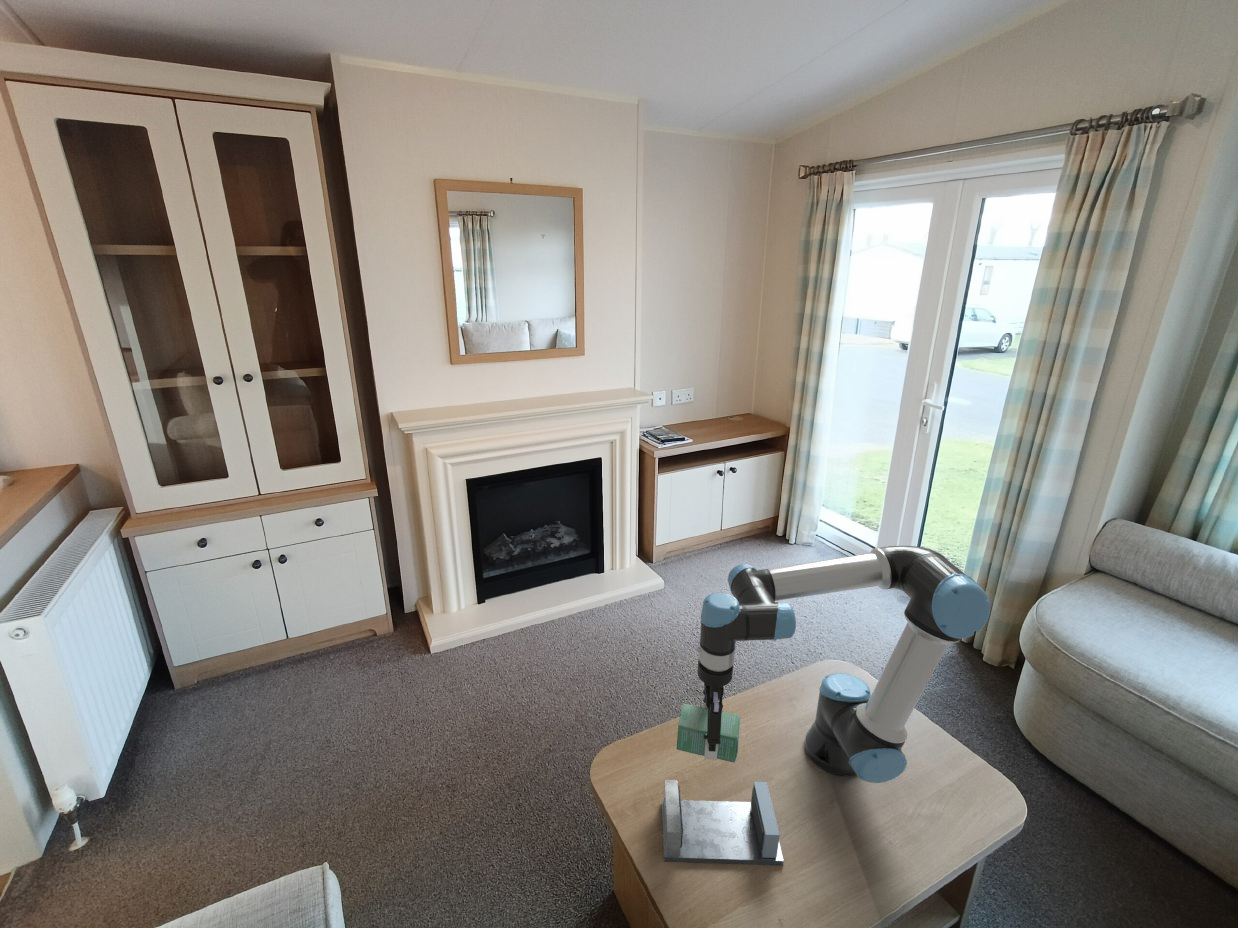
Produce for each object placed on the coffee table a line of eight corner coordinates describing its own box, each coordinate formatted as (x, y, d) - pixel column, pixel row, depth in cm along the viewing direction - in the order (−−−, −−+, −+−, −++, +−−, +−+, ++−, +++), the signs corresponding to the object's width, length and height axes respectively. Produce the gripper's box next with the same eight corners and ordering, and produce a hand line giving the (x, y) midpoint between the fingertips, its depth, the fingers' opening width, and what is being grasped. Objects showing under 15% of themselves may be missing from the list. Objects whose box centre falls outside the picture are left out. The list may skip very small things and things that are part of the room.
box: (736, 763, 125) (739, 737, 123) (675, 751, 128) (677, 725, 126) (738, 738, 132) (740, 713, 129) (680, 727, 135) (682, 701, 133)
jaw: (763, 803, 136) (766, 781, 134) (776, 857, 124) (779, 834, 121) (749, 803, 136) (752, 781, 134) (760, 857, 124) (763, 834, 121)
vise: (769, 807, 137) (772, 780, 134) (783, 865, 124) (787, 837, 121) (661, 803, 138) (662, 777, 135) (664, 861, 125) (665, 834, 122)
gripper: (695, 630, 132) (690, 707, 140) (701, 695, 112) (694, 780, 120) (728, 631, 131) (721, 709, 139) (739, 697, 112) (730, 782, 120)
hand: (709, 742), depth 130 cm, fingers closed on box, 8 cm apart
